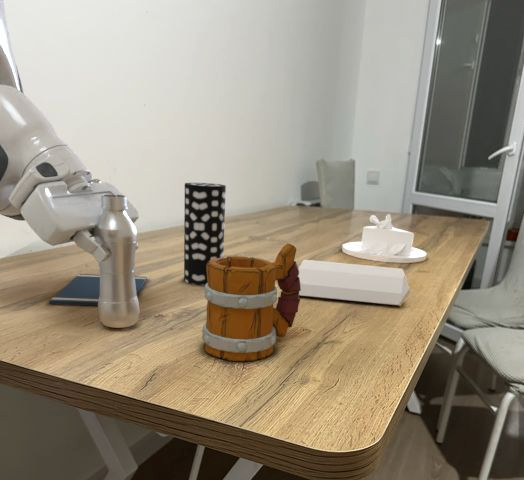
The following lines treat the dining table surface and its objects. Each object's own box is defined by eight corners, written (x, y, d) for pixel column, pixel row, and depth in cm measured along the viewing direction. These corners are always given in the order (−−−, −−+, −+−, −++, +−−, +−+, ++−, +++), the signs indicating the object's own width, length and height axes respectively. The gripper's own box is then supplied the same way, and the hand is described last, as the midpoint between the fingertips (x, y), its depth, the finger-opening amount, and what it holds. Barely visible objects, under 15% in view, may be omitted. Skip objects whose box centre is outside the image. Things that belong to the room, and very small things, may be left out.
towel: (49, 304, 91) (49, 300, 91) (79, 276, 109) (79, 273, 109) (130, 307, 92) (130, 303, 92) (146, 279, 110) (146, 276, 110)
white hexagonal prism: (408, 279, 108) (294, 268, 111) (414, 268, 101) (292, 257, 104) (405, 313, 107) (290, 301, 110) (411, 305, 100) (288, 292, 103)
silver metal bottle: (95, 332, 79) (87, 197, 72) (101, 318, 85) (94, 192, 78) (138, 332, 80) (134, 199, 73) (141, 318, 86) (137, 194, 79)
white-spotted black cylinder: (229, 283, 112) (233, 186, 104) (195, 287, 107) (197, 186, 100) (210, 274, 118) (212, 182, 110) (177, 278, 113) (177, 182, 106)
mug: (186, 342, 77) (187, 242, 72) (274, 327, 86) (281, 236, 81) (223, 368, 69) (227, 257, 64) (316, 348, 78) (327, 249, 73)
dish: (325, 249, 156) (329, 211, 151) (374, 243, 172) (379, 208, 167) (393, 266, 139) (400, 223, 135) (441, 257, 155) (449, 219, 151)
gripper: (91, 192, 88) (143, 255, 89) (-2, 201, 70) (65, 281, 71) (113, 166, 85) (166, 232, 86) (21, 168, 67) (90, 252, 68)
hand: (120, 254), depth 78 cm, fingers closed on silver metal bottle, 6 cm apart
